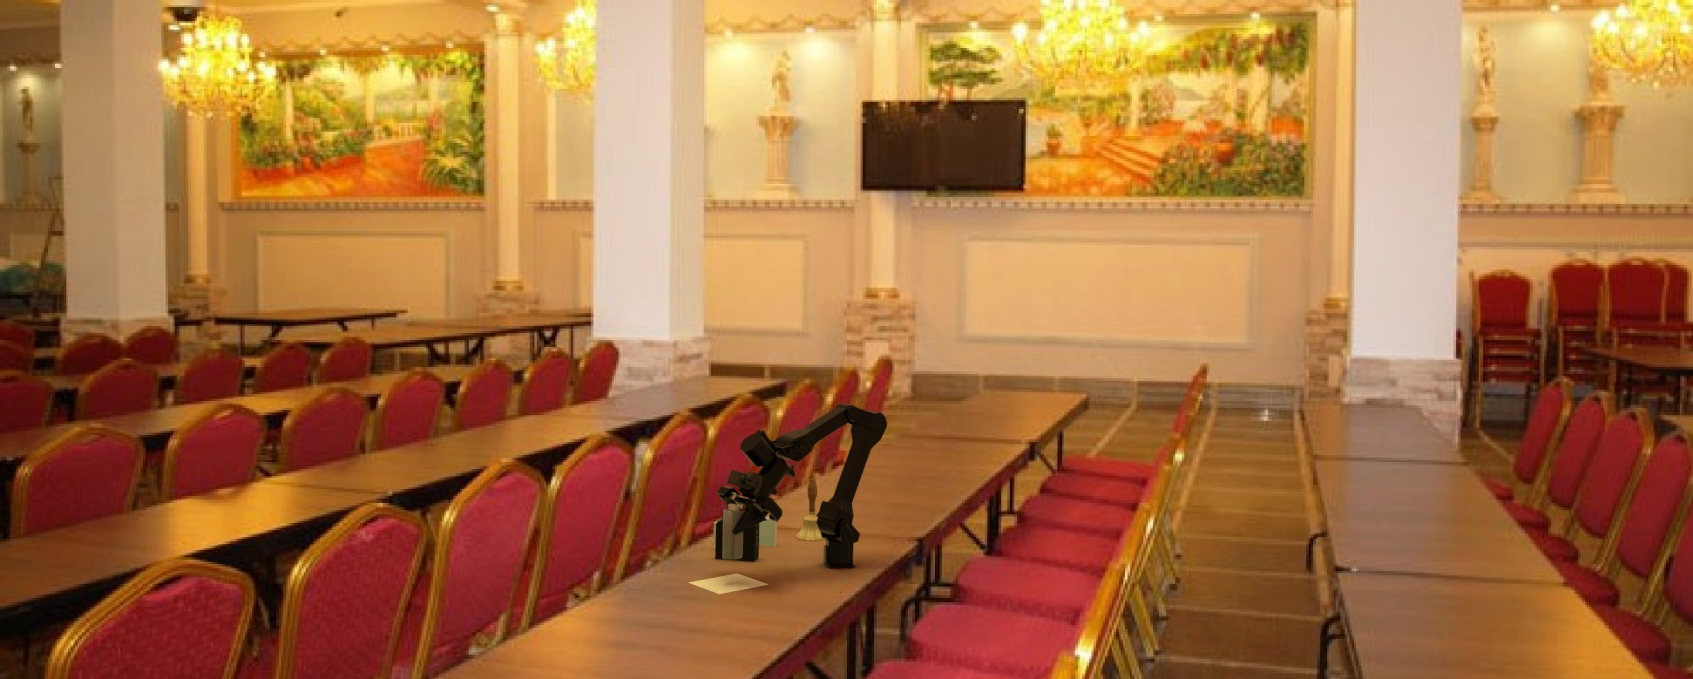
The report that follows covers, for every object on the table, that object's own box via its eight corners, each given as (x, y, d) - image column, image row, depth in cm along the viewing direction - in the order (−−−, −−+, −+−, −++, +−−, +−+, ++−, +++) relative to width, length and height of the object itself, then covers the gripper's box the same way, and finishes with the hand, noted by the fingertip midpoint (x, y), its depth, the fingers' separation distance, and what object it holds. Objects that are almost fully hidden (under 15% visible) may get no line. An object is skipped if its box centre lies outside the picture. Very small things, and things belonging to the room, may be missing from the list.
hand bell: (826, 541, 355) (828, 481, 354) (795, 540, 355) (796, 480, 354) (827, 534, 363) (829, 476, 362) (796, 533, 364) (798, 475, 362)
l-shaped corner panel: (713, 551, 342) (714, 522, 342) (734, 541, 353) (735, 513, 353) (755, 557, 338) (756, 527, 337) (776, 547, 349) (776, 518, 348)
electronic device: (754, 564, 329) (755, 523, 328) (714, 560, 331) (715, 520, 330) (758, 560, 333) (759, 520, 332) (719, 556, 335) (720, 517, 334)
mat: (737, 575, 318) (737, 573, 317) (768, 586, 309) (768, 584, 309) (688, 584, 308) (688, 582, 308) (719, 596, 299) (719, 593, 299)
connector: (735, 553, 312) (737, 501, 311) (746, 557, 309) (747, 504, 308) (718, 556, 308) (719, 504, 307) (728, 560, 305) (729, 507, 304)
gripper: (724, 451, 316) (684, 503, 310) (773, 463, 302) (733, 517, 296) (750, 481, 322) (711, 532, 316) (799, 493, 308) (760, 547, 302)
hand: (728, 531), depth 307 cm, fingers closed on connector, 4 cm apart
